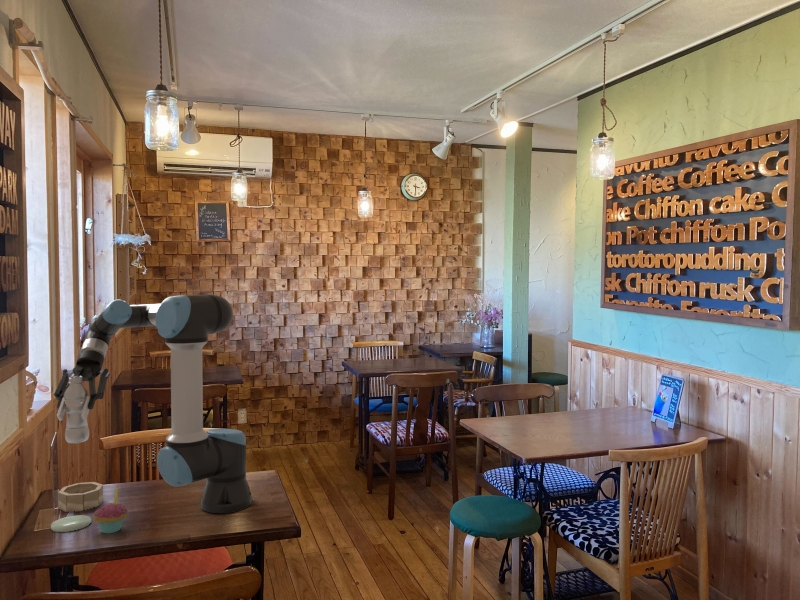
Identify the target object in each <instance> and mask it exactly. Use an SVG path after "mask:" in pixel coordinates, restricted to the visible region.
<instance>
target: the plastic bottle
mask: <svg viewBox="0 0 800 600" xmlns="http://www.w3.org/2000/svg"><path fill="white" fill-rule="evenodd" d="M68 384H70V385H69V387H68V388H67V389H66V391H65V393H64V401H65V406H66V411H65V413H66V425H65V426H66V428H65V430H64V431H65V432H64V438H65V441H66V442H67V443H68V444H81V443H83V442H86V441H88V440H89V437H90V428H89V425H88V419H87V420H83V418H82V416H81V413H82V410H83V407H84V404H85V401H86V398H87V397H89V392H88V390H87V389H86V387H85V386H84V385H83V384H84V381H83V377H82V376H74V375H73V376H71V377H69V382H68Z"/></svg>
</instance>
